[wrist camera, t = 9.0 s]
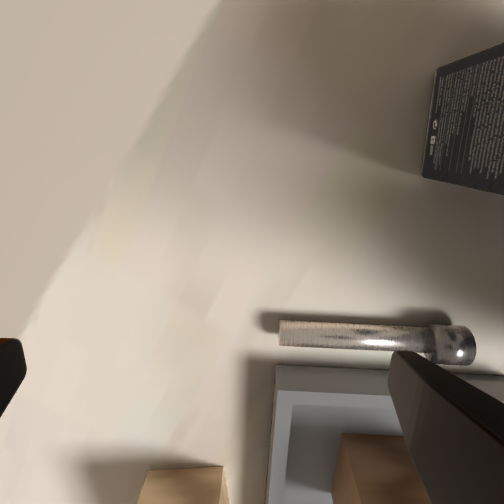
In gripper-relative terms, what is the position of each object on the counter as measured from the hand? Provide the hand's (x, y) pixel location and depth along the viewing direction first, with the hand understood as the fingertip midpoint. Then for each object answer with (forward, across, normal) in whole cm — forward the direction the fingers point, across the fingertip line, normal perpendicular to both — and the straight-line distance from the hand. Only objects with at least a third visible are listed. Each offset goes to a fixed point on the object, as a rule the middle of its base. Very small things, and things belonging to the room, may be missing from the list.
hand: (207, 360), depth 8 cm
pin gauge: (+13, -8, +7) cm, 16 cm away
